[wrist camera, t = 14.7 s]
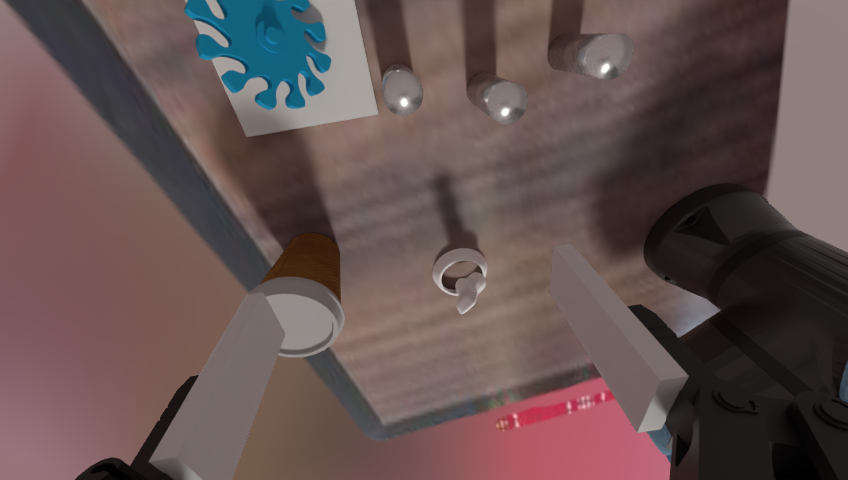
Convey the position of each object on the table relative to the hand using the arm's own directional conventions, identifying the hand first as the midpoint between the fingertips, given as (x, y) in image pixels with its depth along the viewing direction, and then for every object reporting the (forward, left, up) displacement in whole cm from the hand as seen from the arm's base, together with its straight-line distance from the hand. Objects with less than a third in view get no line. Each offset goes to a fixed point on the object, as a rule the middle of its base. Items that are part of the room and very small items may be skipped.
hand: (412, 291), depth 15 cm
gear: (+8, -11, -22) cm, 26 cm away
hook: (-5, +18, -23) cm, 30 cm away
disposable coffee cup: (+13, +11, -23) cm, 28 cm away
